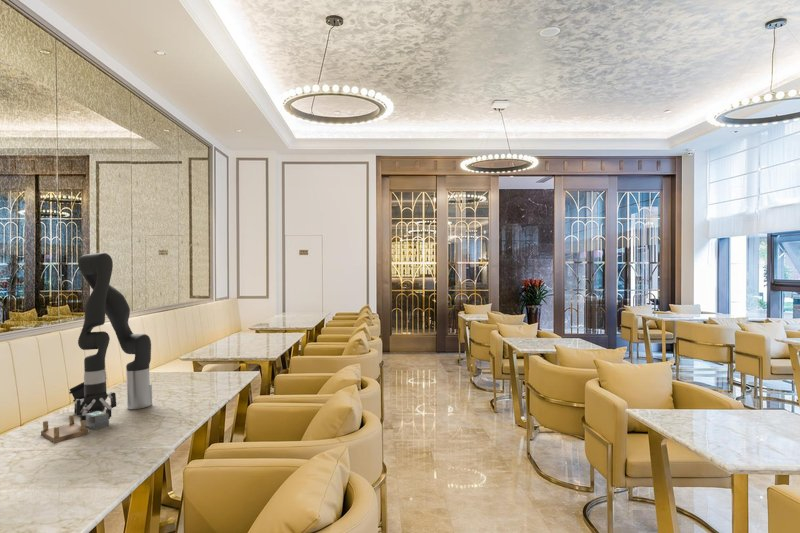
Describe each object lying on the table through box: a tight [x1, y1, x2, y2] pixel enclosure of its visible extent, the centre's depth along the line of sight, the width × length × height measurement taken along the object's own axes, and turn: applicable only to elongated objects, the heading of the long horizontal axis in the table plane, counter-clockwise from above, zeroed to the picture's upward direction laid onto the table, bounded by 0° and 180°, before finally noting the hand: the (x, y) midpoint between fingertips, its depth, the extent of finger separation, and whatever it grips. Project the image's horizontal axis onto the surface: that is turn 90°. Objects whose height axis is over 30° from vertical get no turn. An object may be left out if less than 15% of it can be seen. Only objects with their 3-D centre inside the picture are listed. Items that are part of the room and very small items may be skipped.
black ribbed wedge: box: [68, 381, 106, 413], centre depth 211 cm, size 4×13×15 cm, turn 98°
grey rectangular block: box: [85, 411, 110, 431], centre depth 188 cm, size 5×9×5 cm, turn 56°
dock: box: [40, 414, 89, 443], centre depth 180 cm, size 11×15×5 cm
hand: (96, 421), depth 188 cm, fingers open, 8 cm apart
